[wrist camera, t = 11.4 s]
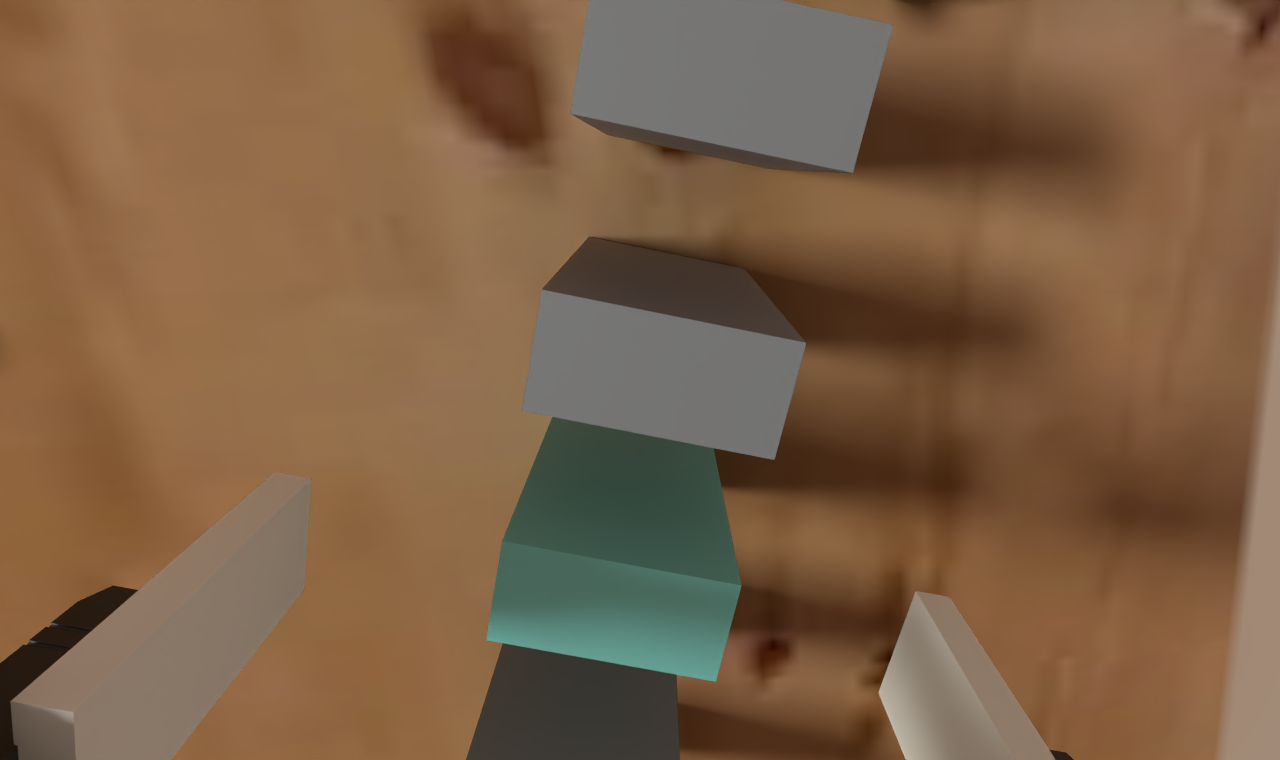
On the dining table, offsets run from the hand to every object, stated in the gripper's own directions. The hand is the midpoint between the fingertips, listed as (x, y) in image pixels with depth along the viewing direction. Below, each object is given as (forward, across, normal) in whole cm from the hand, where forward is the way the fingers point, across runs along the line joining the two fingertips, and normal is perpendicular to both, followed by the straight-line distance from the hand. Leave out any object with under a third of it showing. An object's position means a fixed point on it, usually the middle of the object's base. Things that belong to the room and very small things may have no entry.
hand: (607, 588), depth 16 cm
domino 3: (+10, 0, 0) cm, 10 cm away
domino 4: (+9, 0, -6) cm, 11 cm away
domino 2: (+10, 0, +5) cm, 11 cm away
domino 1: (+10, 0, +10) cm, 14 cm away
